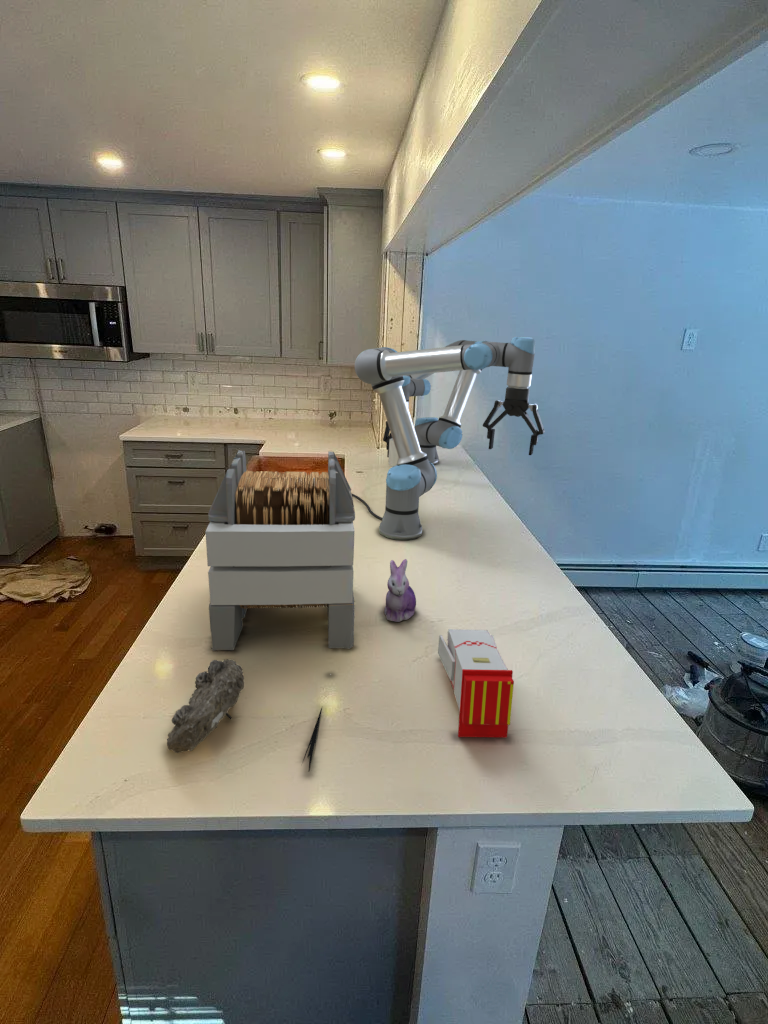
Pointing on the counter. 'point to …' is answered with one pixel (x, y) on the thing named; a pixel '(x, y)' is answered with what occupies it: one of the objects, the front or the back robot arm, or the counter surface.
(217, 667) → the fossil
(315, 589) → the record crate
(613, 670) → the counter surface
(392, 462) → the can
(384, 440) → the back robot arm
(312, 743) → the feather
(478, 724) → the toy
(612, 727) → the counter surface
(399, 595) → the figurine
